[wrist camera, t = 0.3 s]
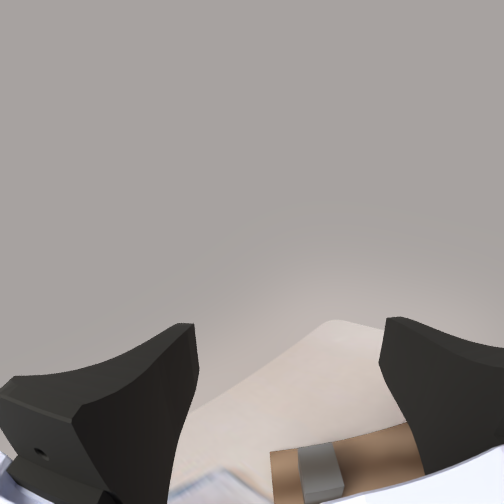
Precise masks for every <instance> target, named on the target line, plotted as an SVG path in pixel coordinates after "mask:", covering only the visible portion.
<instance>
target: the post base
mask: <svg viewBox="0 0 504 504" xmlns="http://www.w3.org/2000/svg"><path fill="white" fill-rule="evenodd" d="M270 461H271V472H272V484H273V495H274V504H320V503H323V502H327V501H331V500H335V499H339V498H343V497H347V496H350V495H354V494H357V493H361V492H366V491H371V490H375V489H380V488H384V487H388V486H392V485H396V484H399V483H403V482H407V481H410V480H413V479H417V478H420V477H423V476H425V473H424V469H423V465H422V462H421V458H420V455H419V452H418V448H417V445H416V443H415V440H414V437H413V434H412V431H411V429H410V427H409V425H408V423H407V422H406V423H403V424H400V425H397V426H393V427H390V428H387V429H383V430H380V431H376V432H373V433H369V434H365V435H361V436H357V437H353V438H349V439H345V440H340V441H336V442H329V443H324V444H319V445H313V446H307V447H301V448H296V449H289V450H282V451H273V452H270Z"/></svg>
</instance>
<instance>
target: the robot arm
mask: <svg viewBox="0 0 504 504" xmlns="http://www.w3.org/2000/svg"><path fill="white" fill-rule="evenodd" d="M379 366H380V369H381V372H382V374H383V377H384V380H385V382H386V384H387V386H388V388H389V390H390V392H391V393H392V395H393V397H394V399H395V401H396V402H397V404H398V406H399V408H400V410H401V412H402V413H403V415H404V417H405V419H406V421H407V423H408V425H409V427H410V429H411V431H412V434H413V437H414V440H415V443H416V445H417V448H418V452H419V455H420V458H421V462H422V465H423V469H424V473H425V476H423V477H420V478H417V479H413V480H410V481H407V482H403V483H399V484H396V485H392V486H388V487H384V488H380V489H375V490H371V491H366V492H361V493H357V494H354V495H350V496H347V497H343V498H339V499H335V500H331V501H327V502H323V503H320V504H504V348H499V347H493V346H487V345H483V344H479V343H475V342H471V341H467V340H464V339H461V338H458V337H455V336H452V335H450V334H447V333H444V332H441V331H439V330H436V329H434V328H432V327H429V326H427V325H424V324H422V323H419V322H417V321H414V320H411V319H408V318H404V317H392V318H387V319H386V325H385V331H384V337H383V342H382V348H381V353H380V358H379ZM198 375H199V362H198V354H197V346H196V337H195V327H194V324H189V323H177V324H175V325H173V326H172V327H170V328H168V329H166V330H165V331H163V332H161V333H160V334H158V335H156V336H155V337H153V338H151V339H150V340H148V341H147V342H145V343H143V344H141V345H139V346H137V347H135V348H134V349H132V350H130V351H128V352H126V353H124V354H122V355H119V356H117V357H115V358H113V359H110V360H107V361H104V362H102V363H99V364H95V365H92V366H88V367H85V368H81V369H78V370H73V371H68V372H63V373H56V374H48V375H33V376H14V377H13V378H11V379H10V380H9V381H8V382H7V383H6V384H5V385H4V386H3V387H2V388H0V428H1V430H2V431H3V433H4V434H5V436H6V438H7V439H8V441H9V442H10V444H11V445H12V447H13V448H14V450H15V451H16V453H17V454H18V456H17V457H16V458H15V459H14V461H12V460H11V459H10V458H9V457H8V456H7V455H6V454H4V453H3V452H1V451H0V504H167V499H168V492H169V485H170V479H171V473H172V467H173V462H174V457H175V452H176V448H177V443H178V440H179V436H180V433H181V430H182V428H183V425H184V422H185V419H186V416H187V414H188V411H189V408H190V405H191V402H192V399H193V397H194V394H195V390H196V386H197V381H198Z"/></svg>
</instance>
